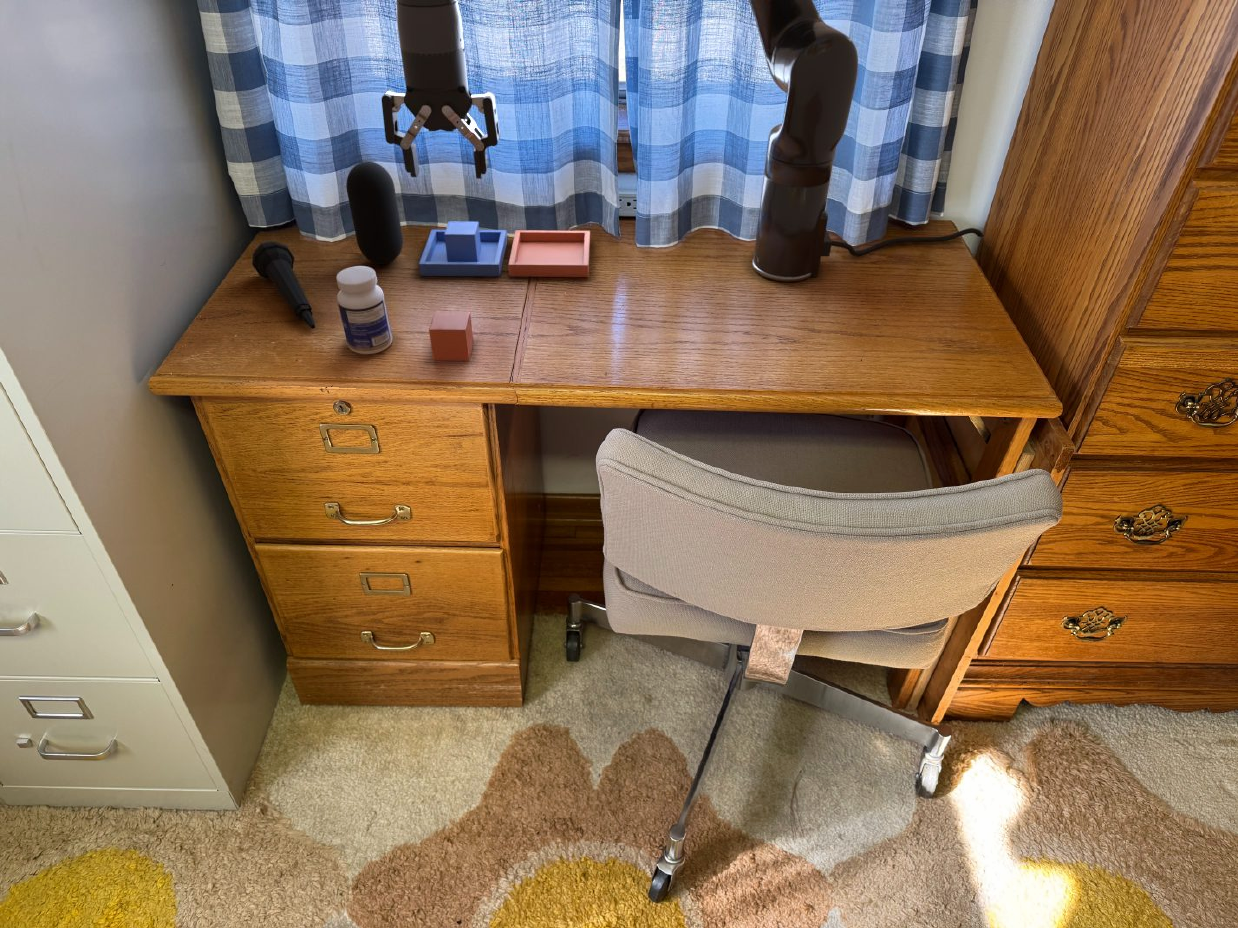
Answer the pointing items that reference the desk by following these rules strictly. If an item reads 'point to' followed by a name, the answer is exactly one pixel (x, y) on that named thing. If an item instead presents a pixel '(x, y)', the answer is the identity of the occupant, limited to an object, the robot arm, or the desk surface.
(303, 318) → the microphone
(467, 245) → the blue cube
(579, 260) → the terracotta tray
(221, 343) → the desk surface
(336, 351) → the desk surface
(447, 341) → the terracotta cube
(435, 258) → the blue tray
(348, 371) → the desk surface
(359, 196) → the decorative object
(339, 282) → the pill bottle
